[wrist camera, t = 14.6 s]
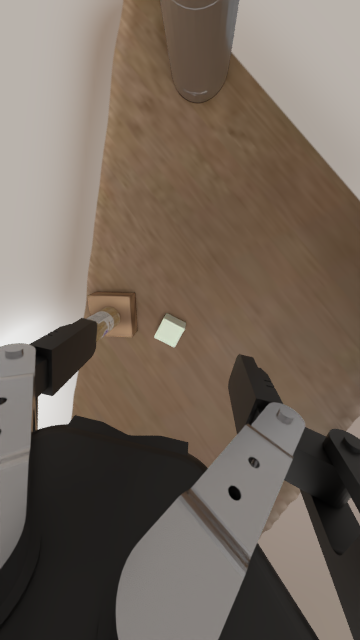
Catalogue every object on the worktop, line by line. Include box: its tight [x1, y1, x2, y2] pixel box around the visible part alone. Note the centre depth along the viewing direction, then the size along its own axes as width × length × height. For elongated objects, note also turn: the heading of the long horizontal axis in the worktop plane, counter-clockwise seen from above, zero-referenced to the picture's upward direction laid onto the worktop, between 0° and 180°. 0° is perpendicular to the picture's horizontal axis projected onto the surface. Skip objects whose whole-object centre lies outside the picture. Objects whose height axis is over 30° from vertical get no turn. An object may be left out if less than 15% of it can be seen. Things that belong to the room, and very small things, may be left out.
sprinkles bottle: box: [87, 307, 120, 342], centre depth 38 cm, size 5×5×14 cm
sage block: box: [154, 313, 186, 348], centre depth 46 cm, size 5×5×4 cm
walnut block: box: [87, 292, 137, 337], centre depth 46 cm, size 9×9×4 cm
